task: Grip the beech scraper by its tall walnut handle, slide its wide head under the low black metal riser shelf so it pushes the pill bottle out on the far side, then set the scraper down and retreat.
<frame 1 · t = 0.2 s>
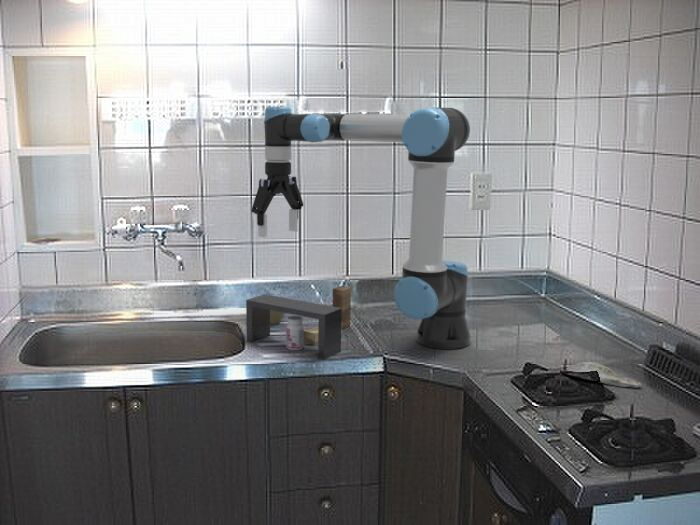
hand: (278, 234, 223), 27 cm above the countertop, fingers open, 13 cm apart
flower pot: (271, 323, 230), on the countertop
stone: (601, 381, 187), on the countertop
pill bottle: (294, 348, 207), on the countertop
riser shelf: (293, 346, 207), on the countertop
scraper: (341, 327, 226), on the countertop
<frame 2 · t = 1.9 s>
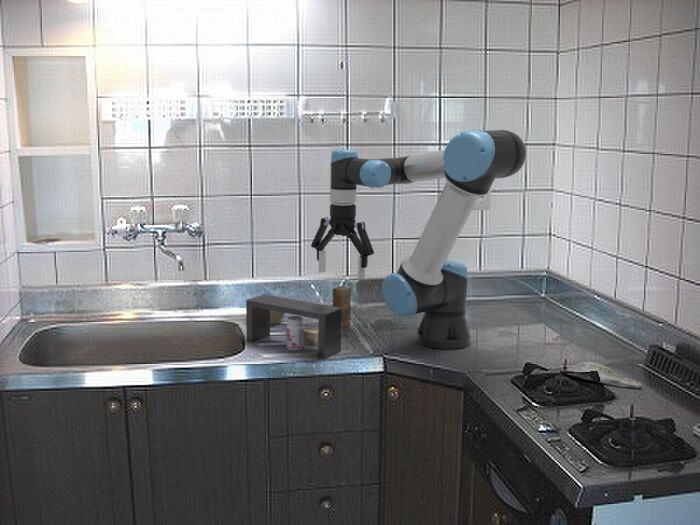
hand: (341, 275, 223), 16 cm above the countertop, fingers open, 13 cm apart
nothing on the countertop moved.
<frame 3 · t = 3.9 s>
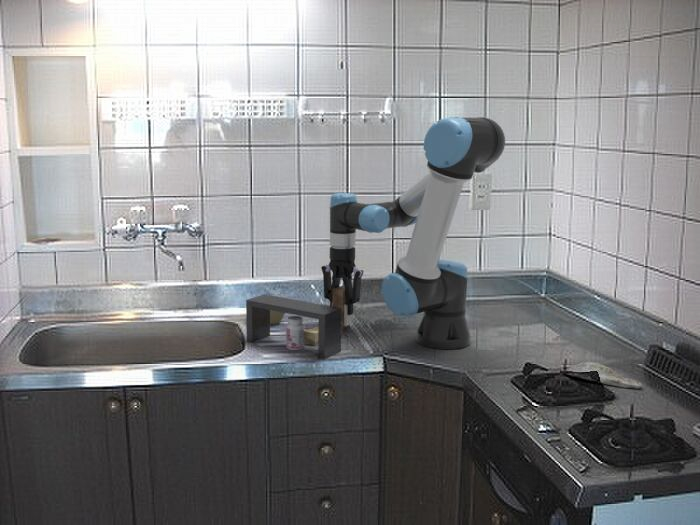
hand: (341, 323, 226), 1 cm above the countertop, fingers closed on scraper, 3 cm apart
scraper: (341, 327, 226), on the countertop, touching gripper
everything else where it was.
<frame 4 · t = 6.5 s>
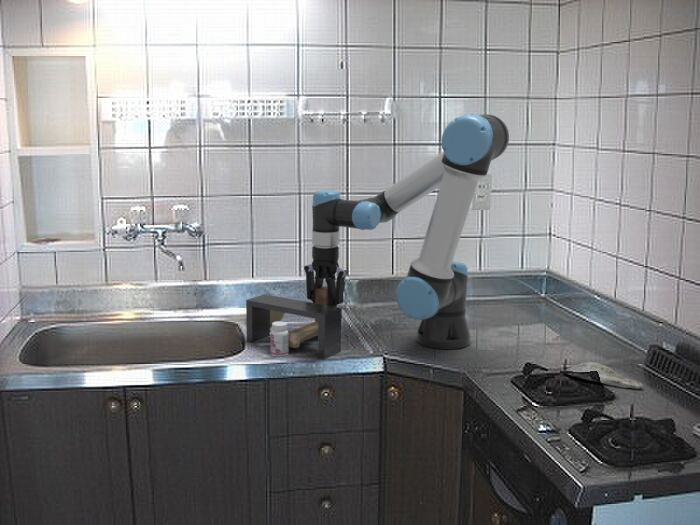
hand: (324, 325, 218), 3 cm above the countertop, fingers closed on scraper, 3 cm apart
pill bottle: (279, 354, 201), on the countertop, touching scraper
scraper: (324, 329, 219), point 2 cm above the countertop, touching gripper, pill bottle
everything else where it was.
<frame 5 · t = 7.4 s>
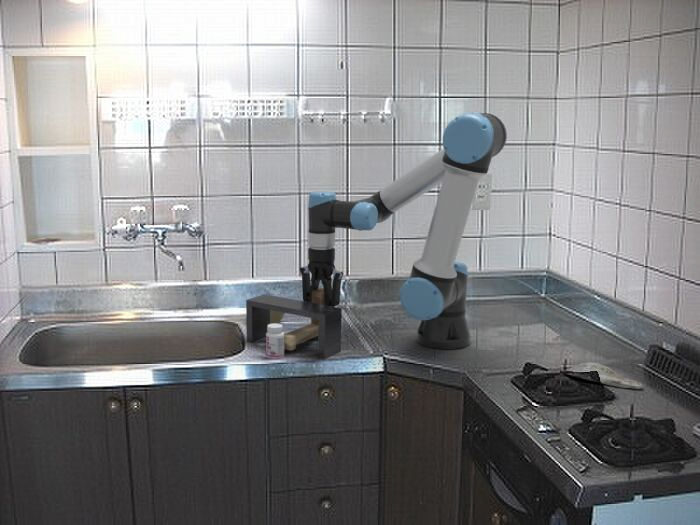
hand: (320, 327, 216), 3 cm above the countertop, fingers closed on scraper, 3 cm apart
pill bottle: (275, 356, 199), on the countertop, touching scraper
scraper: (320, 331, 217), point 1 cm above the countertop, touching gripper, pill bottle
everything else where it was.
when the fingers open (2 cm above the countertop, at t = 9.1 s): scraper stays where it is, on the countertop.
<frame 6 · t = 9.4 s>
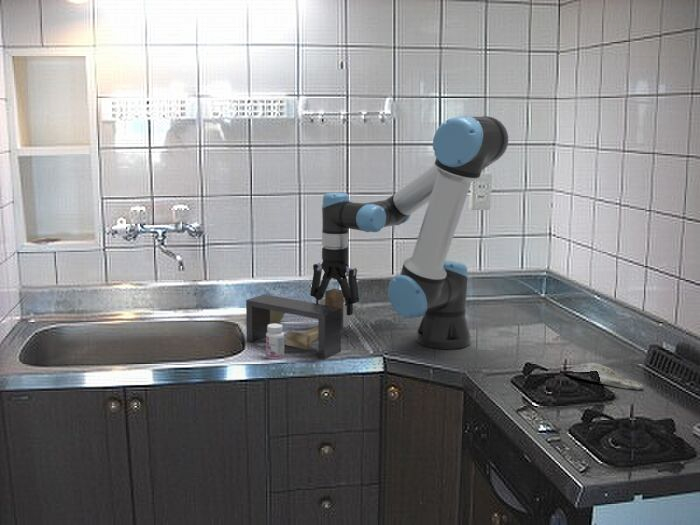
hand: (334, 322, 222), 2 cm above the countertop, fingers open, 8 cm apart
pill bottle: (275, 357, 199), on the countertop
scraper: (334, 330, 223), on the countertop
everything else where it was.
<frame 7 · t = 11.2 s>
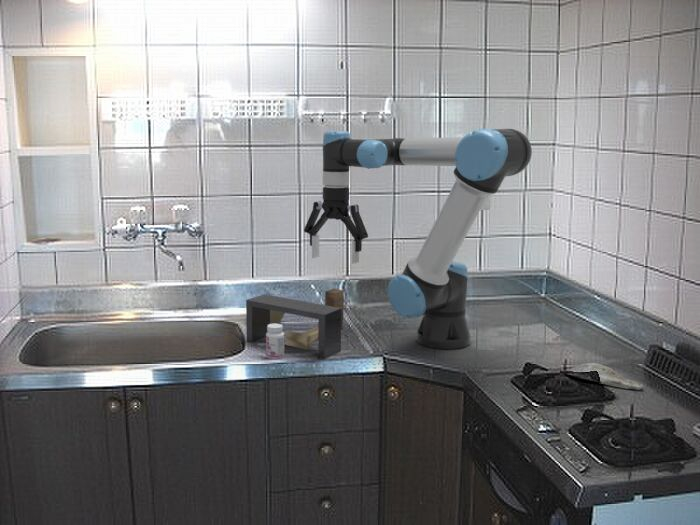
hand: (335, 260, 219), 21 cm above the countertop, fingers open, 13 cm apart
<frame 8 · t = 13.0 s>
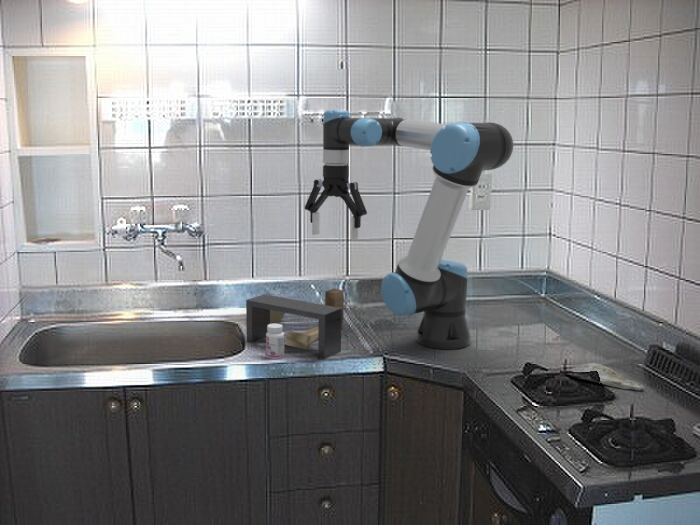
hand: (334, 236, 224), 27 cm above the countertop, fingers open, 13 cm apart
at the end: pill bottle inside the target area (6.0 cm from its centre), on the countertop; the gripper is holding nothing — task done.
